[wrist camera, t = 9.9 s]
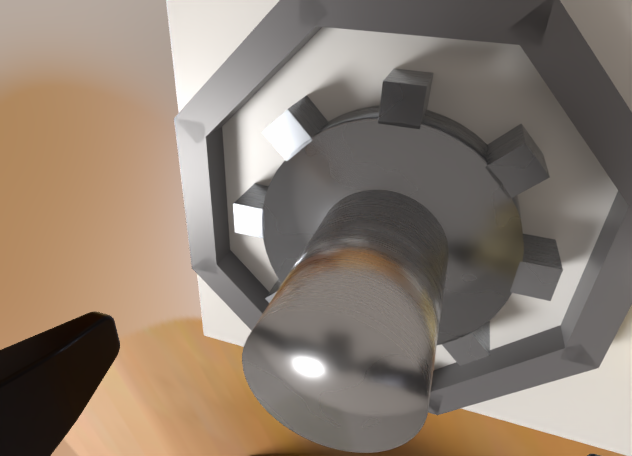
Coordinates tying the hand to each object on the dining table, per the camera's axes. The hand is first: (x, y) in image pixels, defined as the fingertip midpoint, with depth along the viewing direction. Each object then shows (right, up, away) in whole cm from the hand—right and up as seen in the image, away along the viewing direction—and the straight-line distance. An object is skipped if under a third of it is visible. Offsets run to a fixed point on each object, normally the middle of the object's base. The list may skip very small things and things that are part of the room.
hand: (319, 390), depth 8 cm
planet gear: (+2, +3, +5) cm, 7 cm away
